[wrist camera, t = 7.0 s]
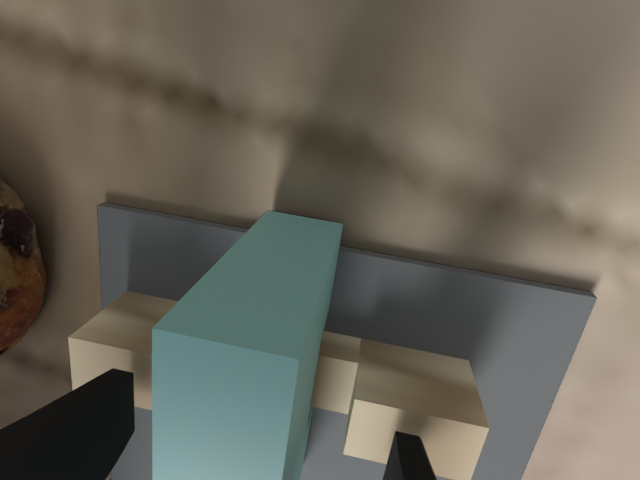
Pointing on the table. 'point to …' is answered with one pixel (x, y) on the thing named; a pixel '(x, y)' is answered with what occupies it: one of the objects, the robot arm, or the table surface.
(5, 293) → the bread roll
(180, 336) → the teal board
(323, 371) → the birch u-shaped block
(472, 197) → the table surface
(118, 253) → the mat
